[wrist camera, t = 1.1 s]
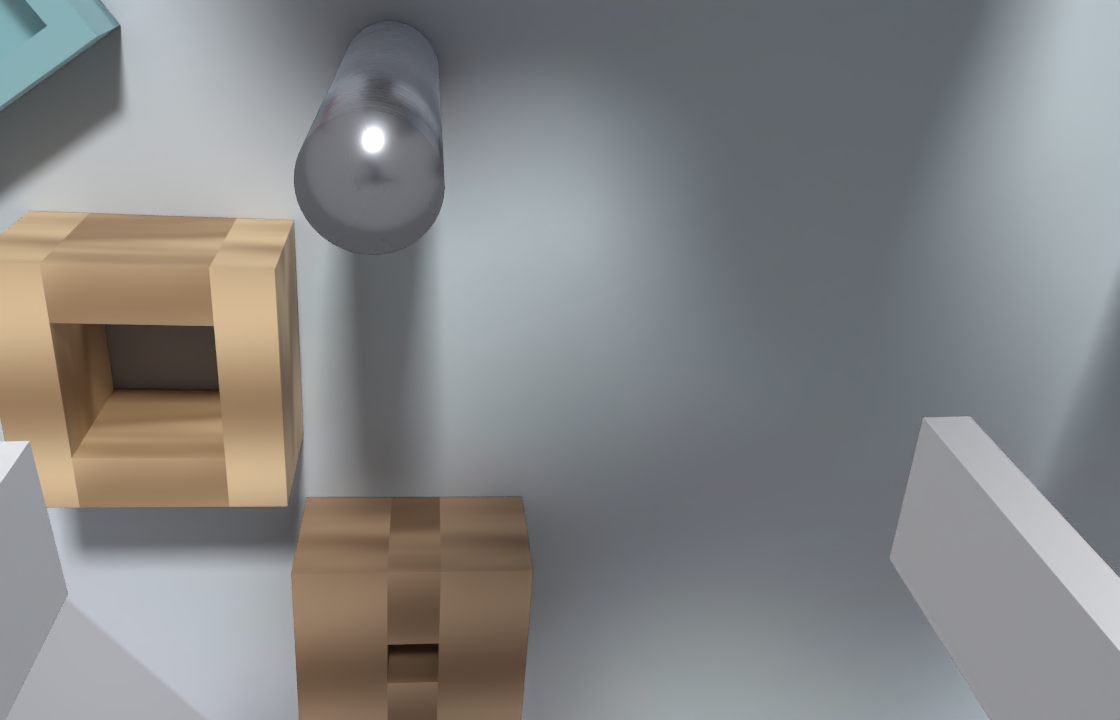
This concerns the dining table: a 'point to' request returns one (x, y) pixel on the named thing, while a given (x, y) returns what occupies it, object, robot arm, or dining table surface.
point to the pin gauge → (376, 145)
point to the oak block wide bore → (151, 415)
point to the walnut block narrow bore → (411, 608)
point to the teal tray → (45, 39)
